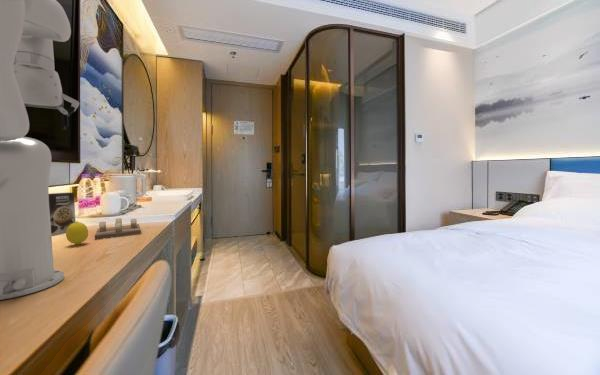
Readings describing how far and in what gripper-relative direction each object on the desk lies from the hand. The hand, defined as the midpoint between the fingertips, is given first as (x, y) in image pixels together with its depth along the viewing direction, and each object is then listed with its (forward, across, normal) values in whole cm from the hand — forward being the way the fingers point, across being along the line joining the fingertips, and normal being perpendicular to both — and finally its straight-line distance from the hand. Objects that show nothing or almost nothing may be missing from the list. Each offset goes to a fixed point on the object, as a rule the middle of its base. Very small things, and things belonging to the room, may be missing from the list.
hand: (40, 127), depth 71 cm
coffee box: (+37, -4, +38) cm, 53 cm away
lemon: (+37, +5, +10) cm, 39 cm away
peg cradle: (+37, +16, +22) cm, 46 cm away
